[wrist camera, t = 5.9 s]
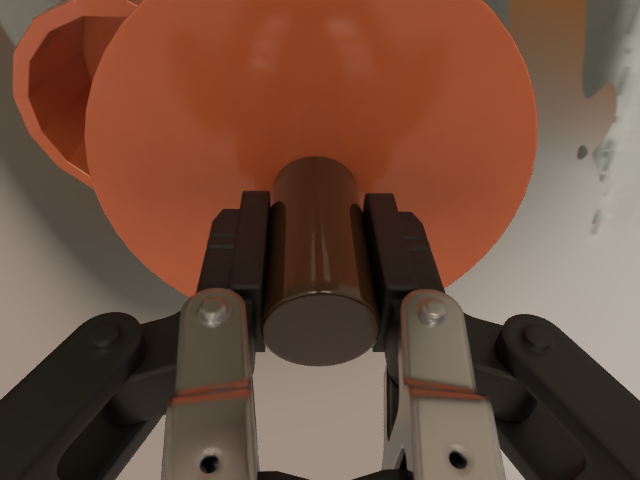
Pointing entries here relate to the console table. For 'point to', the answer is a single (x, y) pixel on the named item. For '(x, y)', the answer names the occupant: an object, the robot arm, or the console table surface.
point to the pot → (64, 75)
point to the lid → (311, 144)
